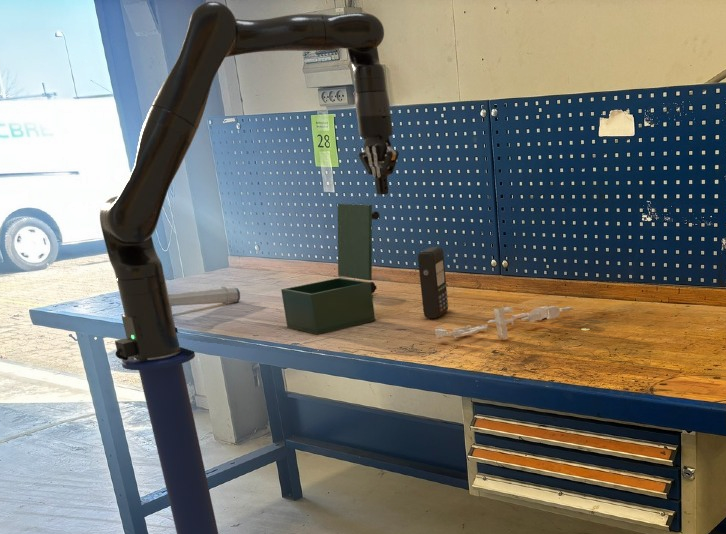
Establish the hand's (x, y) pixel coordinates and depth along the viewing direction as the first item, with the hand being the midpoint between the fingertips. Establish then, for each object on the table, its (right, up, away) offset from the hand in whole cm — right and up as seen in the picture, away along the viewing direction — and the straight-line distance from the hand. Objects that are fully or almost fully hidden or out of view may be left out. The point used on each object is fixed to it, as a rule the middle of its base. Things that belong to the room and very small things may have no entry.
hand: (382, 194), depth 197 cm
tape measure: (-9, -19, +26) cm, 34 cm away
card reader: (+13, -28, 0) cm, 31 cm away
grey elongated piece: (+28, -35, -19) cm, 48 cm away
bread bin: (-11, -30, -2) cm, 33 cm away
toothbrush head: (-52, -24, +23) cm, 62 cm away
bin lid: (-6, -12, -3) cm, 14 cm away
